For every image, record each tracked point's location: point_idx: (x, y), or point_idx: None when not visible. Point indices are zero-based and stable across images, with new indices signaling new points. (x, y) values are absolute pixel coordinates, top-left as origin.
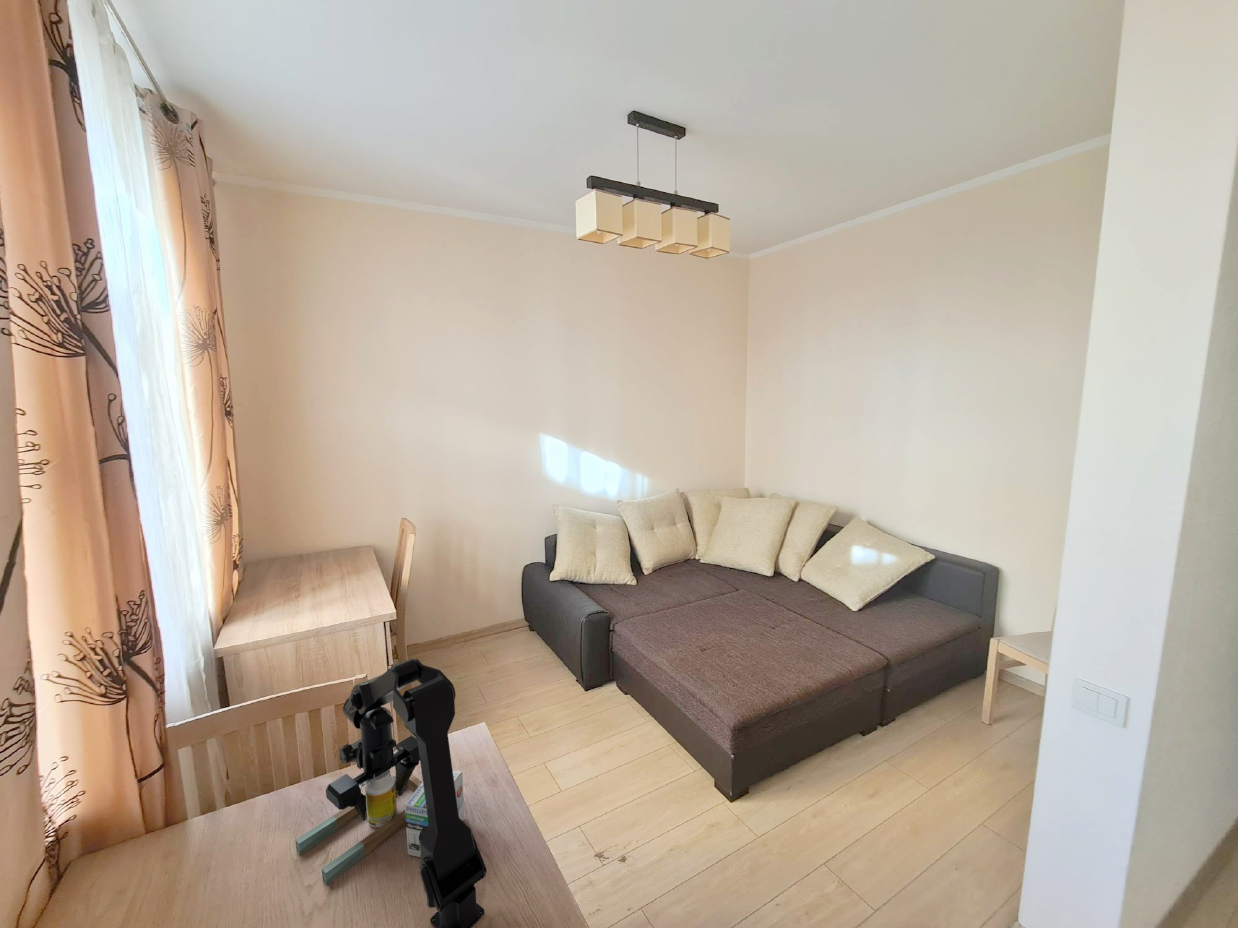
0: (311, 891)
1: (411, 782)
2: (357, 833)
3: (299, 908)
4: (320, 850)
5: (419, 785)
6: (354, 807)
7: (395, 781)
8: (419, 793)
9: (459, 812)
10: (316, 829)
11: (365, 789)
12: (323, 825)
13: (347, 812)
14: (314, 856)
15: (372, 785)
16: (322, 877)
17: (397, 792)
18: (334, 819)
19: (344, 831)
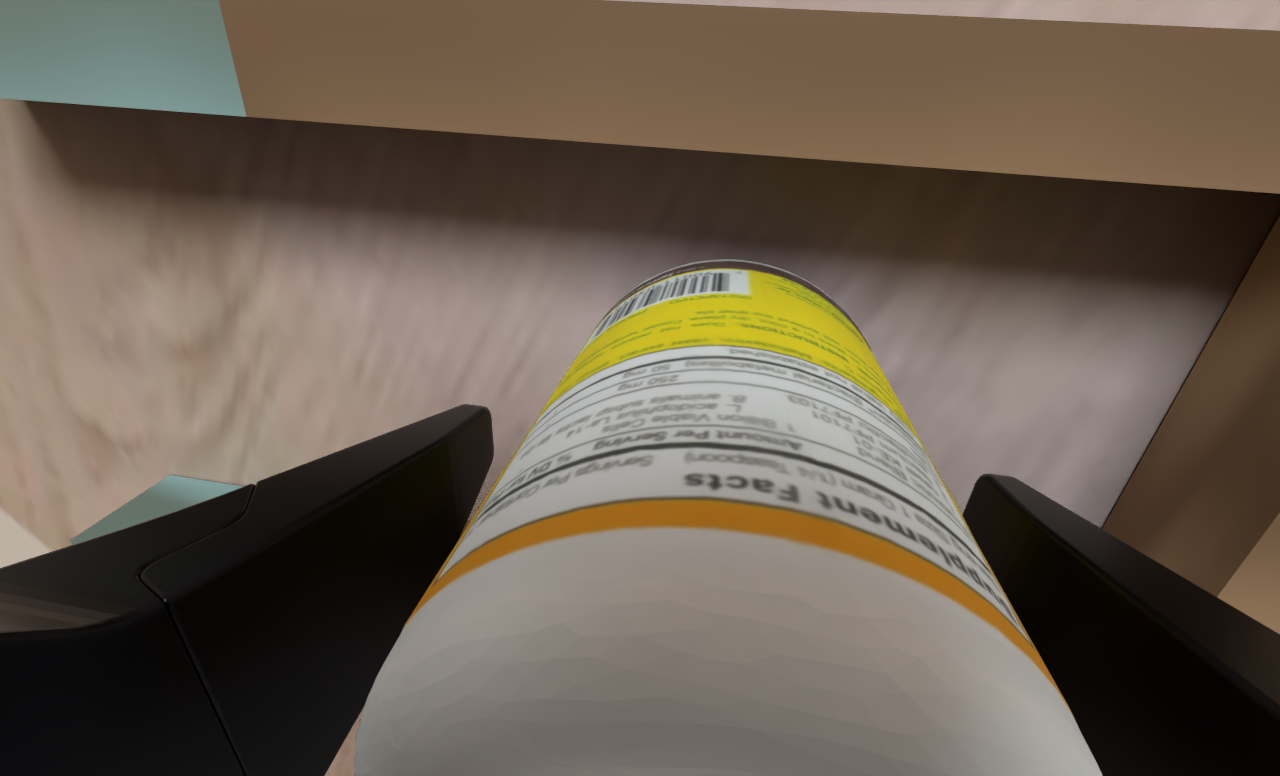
0: (107, 477)
1: None
2: (480, 338)
3: (48, 508)
4: (181, 213)
5: (1238, 587)
6: (289, 472)
7: (1273, 190)
8: None
9: None
10: (6, 42)
11: (372, 688)
12: (87, 61)
13: (401, 126)
14: (132, 229)
15: None
16: (146, 491)
17: (988, 495)
18: (222, 97)
19: (405, 201)
